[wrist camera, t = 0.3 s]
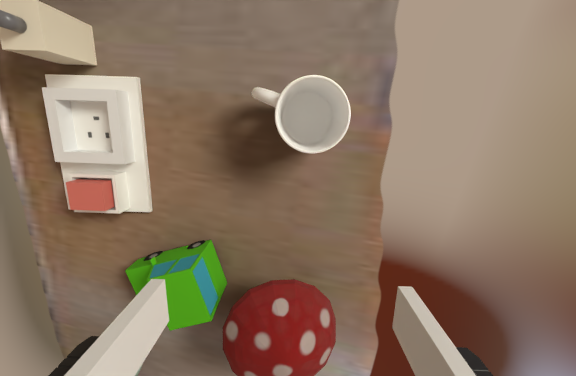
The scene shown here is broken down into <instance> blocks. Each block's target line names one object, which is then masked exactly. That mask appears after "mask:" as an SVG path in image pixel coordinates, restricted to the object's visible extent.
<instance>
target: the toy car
mask: <svg viewBox="0 0 576 376" xmlns="http://www.w3.org/2000/svg"><path fill="white" fill-rule="evenodd" d="M125 271H126V274H127V276H128V278H129V280H130V282H131V284H132V286H133V289H134V291H135V293H136V295H137V294H138V293H139V292H140V291H141V290H142V289H143V288H144V287H145V286H146V284H147V283H148V282H149V281H150V280H151V279H165V285H166V295H167V305H168V314H169V322H168V323H167V326H168V328H169V330H174V329H179V328H183V327H188V326H192V325H196V324H201V323H205V322H210V321H212V319H213V316H214V314H215V311H216V309H217V306H218V304H219V302H220V299H221V297H222V294H223V292H224V289H225V287H226V285H227V281H226V278H225V276H224V273H223V270H222V267H221V265H220V262H219V259H218V257H217V254H216V251H215V249H214V246H213V243H212V240H207V241H204V240H203V241H198V242H195V243H193V244H191V245H190V246H189V247H188V246H184V247H180V248H176V249H172V250H168V251H164V252H163V251H159V252H155V253H153V254H151V255H148V256H147V257H144V258H141V259H138V260H137V261H136V262H134V263H133V264H132V265H131V266H130V267H129V268H127V269H126V270H125Z"/></svg>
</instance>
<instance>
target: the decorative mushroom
mask: <svg viewBox="0 0 576 376" xmlns="http://www.w3.org/2000/svg"><path fill="white" fill-rule="evenodd" d="M335 337H336V319H335V316H334V313H333V310H332V307H331V303H330V300H329V299H328V298H327V297H326V296H325V295H323V294H322V293H321V292H320V291H319V290H318V289H317V288H316V287H315V286H312V285H309V284H307V283H304V282H301V281H298V280H295V279H293V280H272V281H269V282H267V283H264V284H262V285H259V286H256V287H254V288H251V289H249V290H248V291H247V292H246V293H245V294H244V295H243V296H242V297H241V298H240V299H239V300H238V301H237V302H236V303H235V304H234V305H233V306H232V308H231V311H230V313H229V315H228V317H227V320H226V322H225V324H224V326H223V350H224V353H225V355H226V357H227V360H228V362H229V364H230V366H231V369H232V371H233V372H234V373H235V374H236V375H238V376H315V375H316V374H317V373H318V372H319V371H320V370H321V369H322V368H323V367H324V366H325V365H326V363H327V360H328V358H329V356H330V354H331V351H332V349H333V347H334V345H335Z"/></svg>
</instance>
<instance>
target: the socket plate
mask: <svg viewBox="0 0 576 376" xmlns="http://www.w3.org/2000/svg"><path fill="white" fill-rule="evenodd" d="M45 78H46V84H47V87H42V92H43V97H44V103H45V108H46V114H47V119H48V125H49V131H50V136H51V142H52V147H53V153H54V158H55V162H60V164H61V169H62V175H63V181H64V186H65V192H66V198H67V204H68V209H70V205H69V199H68V193H67V187H66V182H69V181H72V180H76V179H83V180H111V183H112V191H113V199H114V206H115V207H113V208H111V209H109V210H107V211H90V210H74V212H91V213H118V214H120V213H122V212H124V211H126V212H151V211H153V210H152V200H151V189H150V179H149V169H148V158H147V148H146V137H145V127H144V116H143V106H142V95H141V85H140V78H138V77H119V76H87V75H55V74H45Z"/></svg>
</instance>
